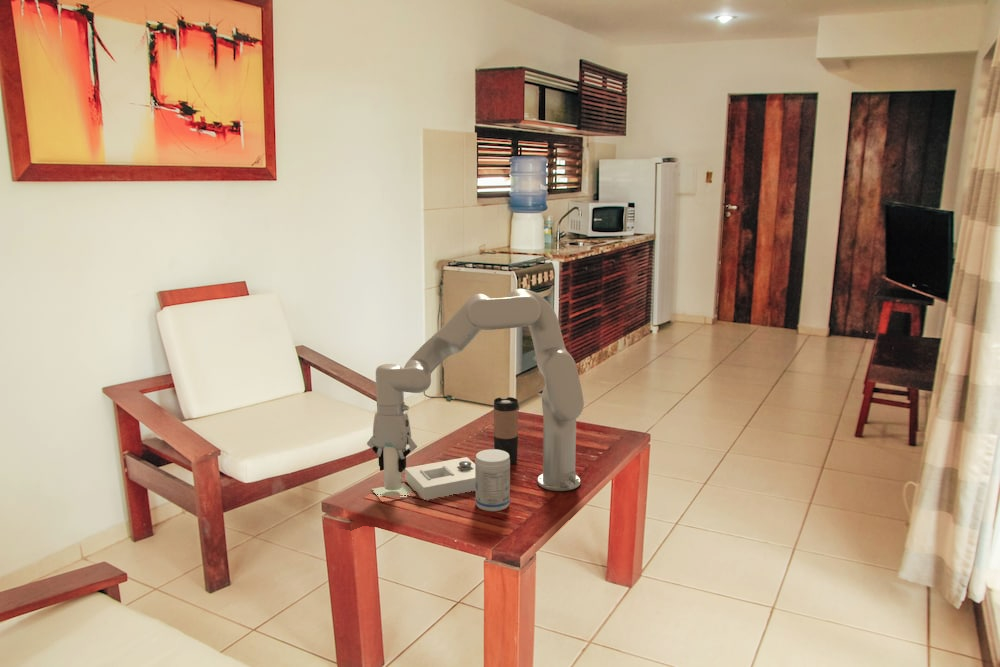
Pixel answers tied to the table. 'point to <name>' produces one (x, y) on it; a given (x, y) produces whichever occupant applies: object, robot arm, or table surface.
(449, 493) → the housing
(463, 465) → the plunger
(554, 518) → the table surface
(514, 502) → the table surface
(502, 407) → the travel mug
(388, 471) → the cartridge
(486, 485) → the supplement tub
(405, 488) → the mat
